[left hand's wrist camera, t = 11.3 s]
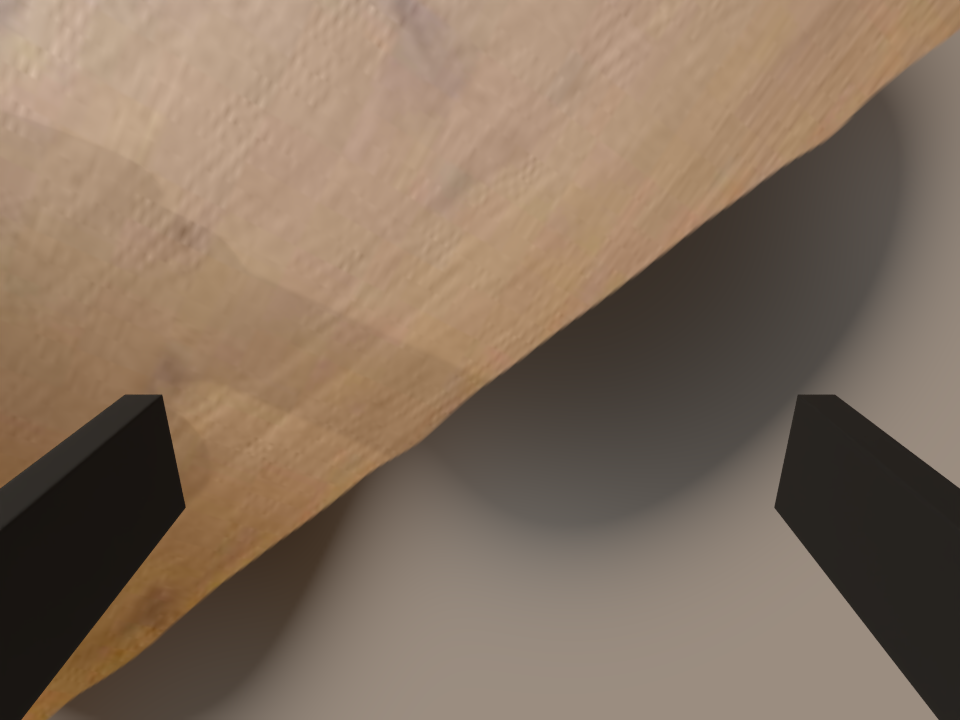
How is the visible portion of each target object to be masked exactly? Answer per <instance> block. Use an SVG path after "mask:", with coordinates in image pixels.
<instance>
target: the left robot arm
mask: <svg viewBox="0 0 960 720" xmlns="http://www.w3.org/2000/svg"><path fill="white" fill-rule="evenodd" d="M185 508H186V507H185V502H184V497H183V492H182V488H181V483H180V478H179V473H178V468H177V464H176V459H175V454H174V449H173V444H172V440H171V435H170V430H169V425H168V420H167V416H166V411H165V406H164V401H163V397H162V395H124V396H123V397H121V398H120V399H119V400H117V401H116V402H115V403H113V404H112V405H111V406H109V407H108V408H107V409H105V410H104V411H103V412H101V413H100V414H99V415H97V416H96V417H95V418H93V419H92V420H91V421H89V422H88V423H87V424H85V425H84V426H83V427H81V428H80V429H79V430H77V431H76V432H75V433H73V434H72V435H71V436H69V437H68V438H67V439H66V440H64V441H63V442H62V443H60V444H59V445H58V446H56V447H55V448H54V449H52V450H51V451H50V452H48V453H47V454H46V455H44V456H43V457H42V458H40V459H39V460H38V461H36V462H35V463H34V464H32V465H31V466H30V467H28V468H27V469H26V470H24V471H23V472H22V473H20V474H19V475H18V476H16V477H15V478H14V479H12V480H11V481H10V482H8V483H7V484H6V485H4V486H3V487H2V488H0V720H21V719H22V718H23V717H24V716H25V714H26V713H27V712H28V710H29V709H30V708H31V706H32V705H33V704H34V703H35V701H36V700H37V699H38V697H39V696H40V695H41V694H42V692H43V691H44V690H45V688H46V687H47V686H48V685H49V683H50V682H51V681H52V679H53V678H54V677H55V675H56V674H57V673H58V672H59V670H60V669H61V668H62V666H63V665H64V664H65V663H66V661H67V660H68V659H69V657H70V656H71V655H72V654H73V652H74V651H75V650H76V648H77V647H78V646H79V645H80V643H81V642H82V641H83V639H84V638H85V637H86V635H87V634H88V633H89V632H90V630H91V629H92V628H93V626H94V625H95V624H96V623H97V621H98V620H99V619H100V617H101V616H102V615H103V614H104V612H105V611H106V610H107V608H108V607H109V606H110V604H111V603H112V602H113V601H114V599H115V598H116V597H117V595H118V594H119V593H120V592H121V590H122V589H123V588H124V586H125V585H126V584H127V583H128V581H129V580H130V579H131V577H132V576H133V575H134V574H135V572H136V571H137V570H138V568H139V567H140V566H141V564H142V563H143V562H144V561H145V559H146V558H147V557H148V555H149V554H150V553H151V552H152V550H153V549H154V548H155V546H156V545H157V544H158V543H159V541H160V540H161V539H162V537H163V536H164V535H165V533H166V532H167V531H168V530H169V528H170V527H171V526H172V524H173V523H174V522H175V521H176V519H177V518H178V517H179V515H180V514H181V513H182V512H183V510H184V509H185ZM775 509H776V510H777V512H778V513H779V514H780V515H781V517H782V518H783V519H784V521H785V522H786V523H787V524H788V526H789V527H790V528H791V530H792V531H793V532H794V533H795V535H796V536H797V537H798V539H799V540H800V541H801V543H802V544H803V545H804V546H805V548H806V549H807V550H808V552H809V553H810V554H811V555H812V557H813V558H814V559H815V561H816V562H817V563H818V564H819V566H820V567H821V568H822V570H823V571H824V572H825V573H826V575H827V576H828V577H829V579H830V580H831V581H832V583H833V584H834V585H835V586H836V588H837V589H838V590H839V591H840V593H841V594H842V595H843V597H844V598H845V599H846V601H847V602H848V603H849V604H850V606H851V607H852V608H853V610H854V611H855V612H856V614H857V615H858V616H859V617H860V619H861V620H862V621H863V623H864V624H865V625H866V626H867V628H868V629H869V630H870V632H871V633H872V634H873V635H874V637H875V638H876V639H877V641H878V642H879V643H880V644H881V646H882V647H883V648H884V650H885V651H886V652H887V654H888V655H889V656H890V657H891V659H892V660H893V661H894V663H895V664H896V665H897V666H898V668H899V669H900V670H901V672H902V673H903V674H904V675H905V677H906V678H907V679H908V681H909V682H910V683H911V685H912V686H913V687H914V688H915V690H916V691H917V692H918V693H919V695H920V696H921V697H922V699H923V700H924V701H925V703H926V704H927V705H928V706H929V708H930V709H931V710H932V712H933V713H934V714H935V716H936V717H937V718H938V719H939V720H960V488H958V487H957V486H956V485H954V484H953V483H952V482H950V481H949V480H948V479H946V478H945V477H944V476H942V475H941V474H940V473H938V472H937V471H936V470H934V469H933V468H932V467H930V466H929V465H928V464H926V463H925V462H924V461H922V460H921V459H920V458H918V457H917V456H916V455H914V454H913V453H912V452H910V451H909V450H908V449H906V448H905V447H904V446H902V445H901V444H900V443H898V442H897V441H896V440H894V439H893V438H892V437H891V436H889V435H888V434H886V433H885V432H884V431H882V430H881V429H880V428H879V427H877V426H876V425H875V424H873V423H872V422H871V421H869V420H868V419H867V418H865V417H864V416H863V415H861V414H860V413H859V412H857V411H856V410H855V409H853V408H852V407H851V406H849V405H848V404H847V403H845V402H844V401H843V400H841V399H840V398H839V397H837V396H836V395H798V396H797V401H796V406H795V411H794V416H793V420H792V425H791V430H790V435H789V440H788V444H787V449H786V454H785V459H784V464H783V468H782V473H781V478H780V483H779V488H778V492H777V497H776V502H775Z"/></svg>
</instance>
